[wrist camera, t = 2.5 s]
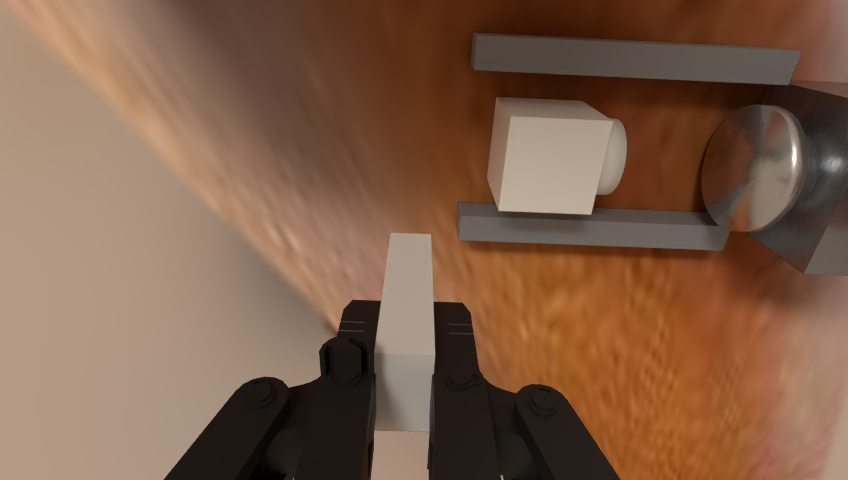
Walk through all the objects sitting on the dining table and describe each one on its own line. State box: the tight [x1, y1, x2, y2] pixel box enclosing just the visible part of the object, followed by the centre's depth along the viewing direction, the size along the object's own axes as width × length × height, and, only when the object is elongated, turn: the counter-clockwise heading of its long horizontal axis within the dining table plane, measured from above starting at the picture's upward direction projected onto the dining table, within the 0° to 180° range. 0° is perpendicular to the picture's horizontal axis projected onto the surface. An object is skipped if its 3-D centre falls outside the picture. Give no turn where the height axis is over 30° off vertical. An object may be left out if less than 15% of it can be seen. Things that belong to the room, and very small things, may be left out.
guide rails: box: [456, 32, 802, 251], centre depth 32 cm, size 14×20×2 cm
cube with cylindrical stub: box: [487, 97, 627, 215], centre depth 31 cm, size 6×8×6 cm
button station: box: [701, 80, 848, 276], centre depth 28 cm, size 10×10×12 cm
